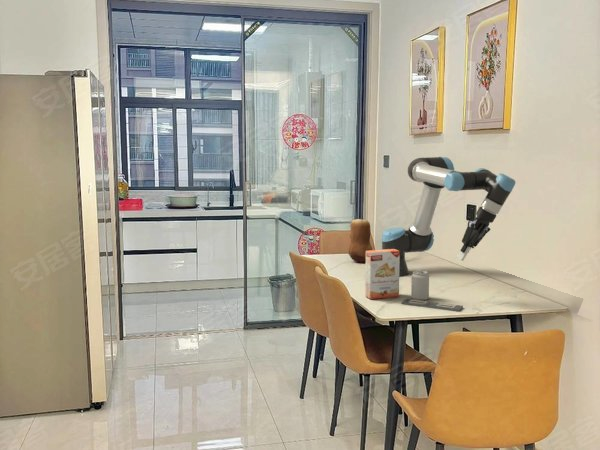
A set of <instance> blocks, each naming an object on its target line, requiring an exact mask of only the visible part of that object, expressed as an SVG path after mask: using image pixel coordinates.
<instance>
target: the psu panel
mask: <svg viewBox="0 0 600 450" xmlns="http://www.w3.org/2000/svg"><path fill="white" fill-rule="evenodd" d="M401 305H408V306H413V307H414V306H415V307H422V308H430V309H437V310H445V311H452V312H458V313H459V312H461V310H462V309H464V306H463V305H458V304H450V303H442V302H436V301H427V300H424V301H421V300H414V299H413V298H406V299H405V300H404V299H403V300H402V301H401Z"/></svg>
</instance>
